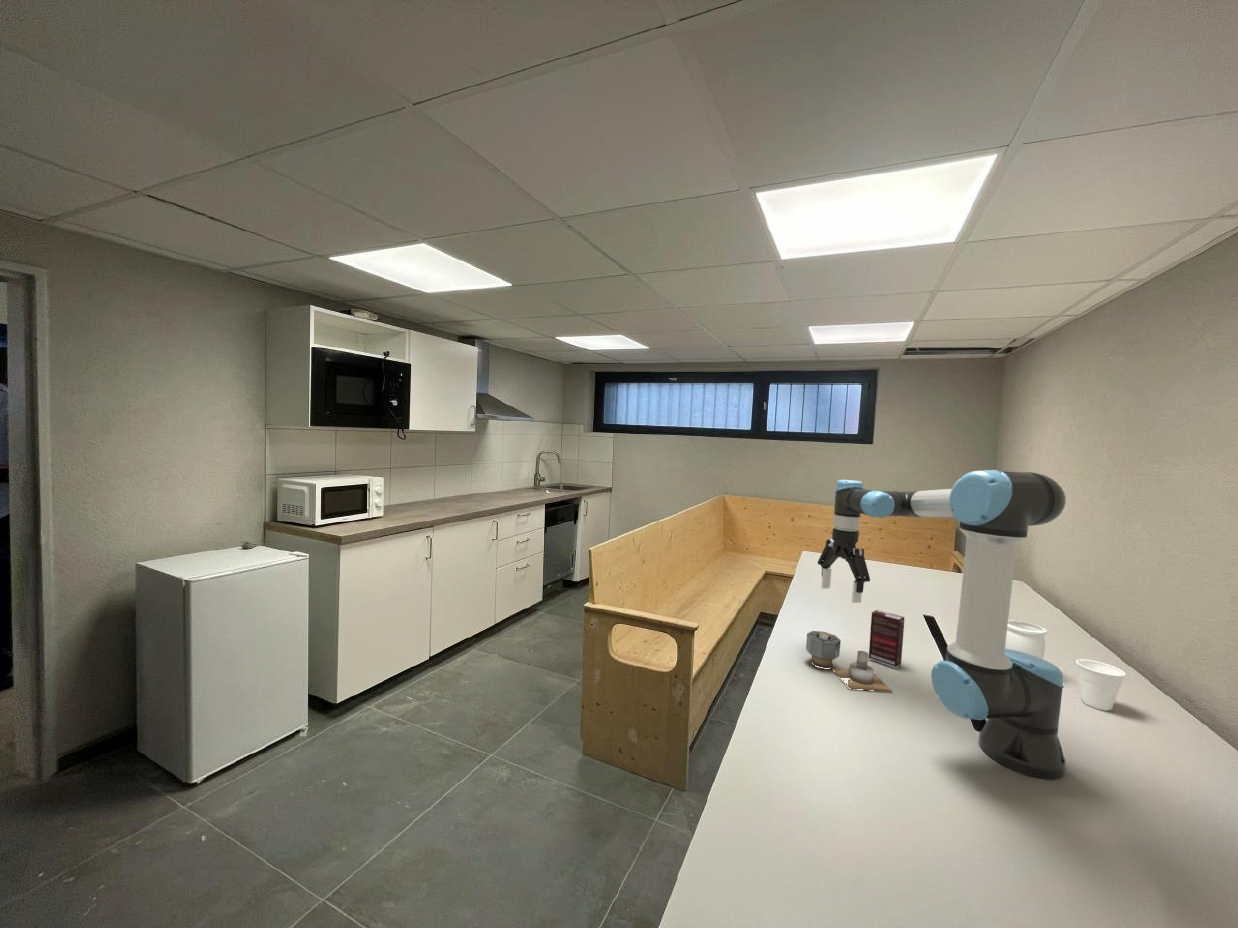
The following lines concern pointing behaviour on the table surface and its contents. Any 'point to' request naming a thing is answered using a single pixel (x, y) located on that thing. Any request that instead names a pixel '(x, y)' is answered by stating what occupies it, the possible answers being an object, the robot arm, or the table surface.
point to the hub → (862, 675)
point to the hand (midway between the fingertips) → (840, 594)
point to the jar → (1025, 638)
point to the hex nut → (823, 645)
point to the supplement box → (886, 638)
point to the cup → (1099, 683)
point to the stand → (819, 661)
